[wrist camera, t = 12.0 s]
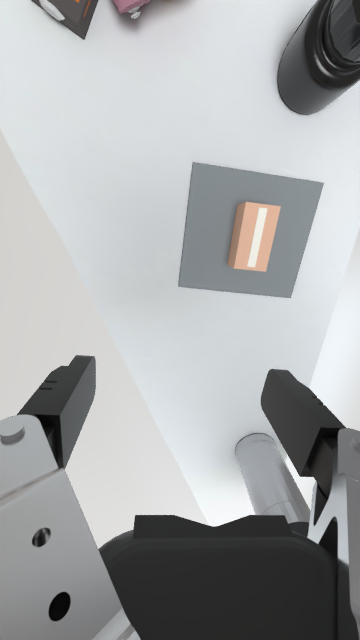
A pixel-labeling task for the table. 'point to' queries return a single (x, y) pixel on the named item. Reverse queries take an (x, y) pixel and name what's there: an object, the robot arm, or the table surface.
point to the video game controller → (130, 6)
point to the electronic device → (70, 13)
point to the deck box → (253, 236)
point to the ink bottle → (322, 56)
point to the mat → (218, 221)
